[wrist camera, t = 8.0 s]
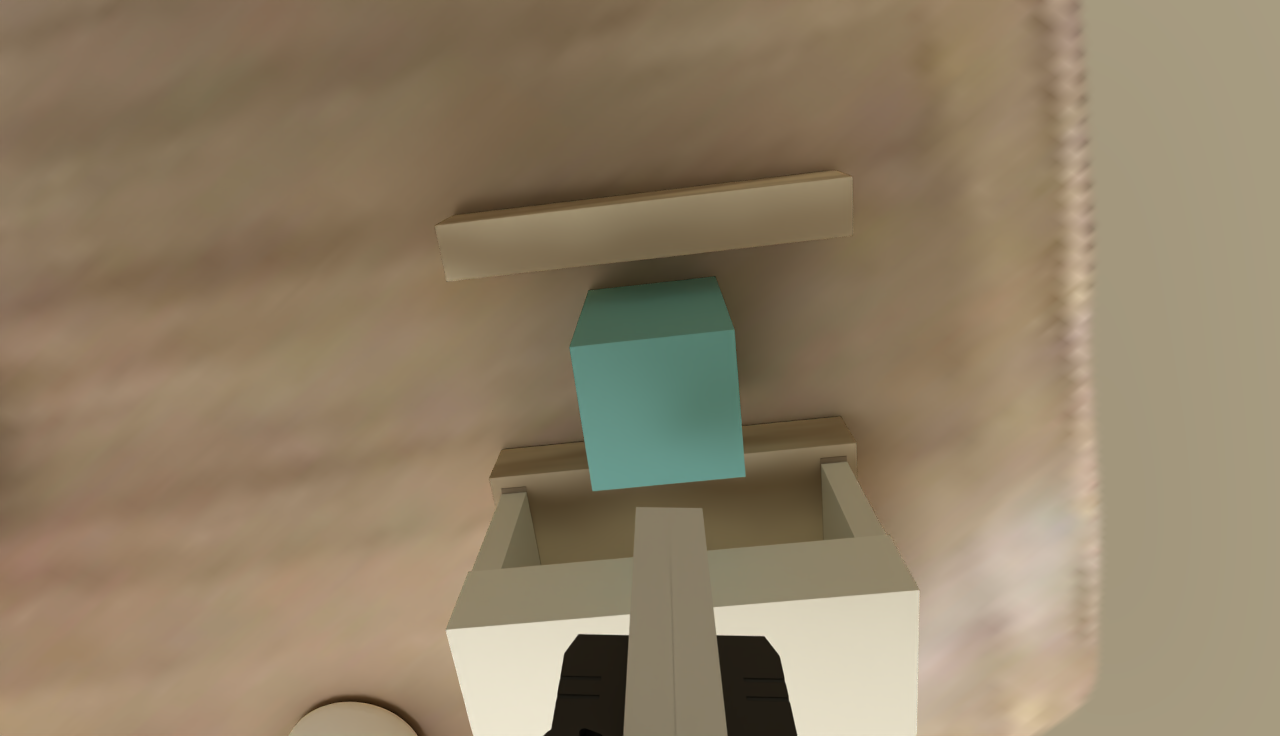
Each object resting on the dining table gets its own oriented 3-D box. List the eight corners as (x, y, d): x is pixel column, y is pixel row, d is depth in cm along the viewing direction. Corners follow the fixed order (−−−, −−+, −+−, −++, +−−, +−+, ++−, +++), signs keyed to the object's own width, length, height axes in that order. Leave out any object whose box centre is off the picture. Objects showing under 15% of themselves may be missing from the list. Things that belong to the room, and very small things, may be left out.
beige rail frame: (453, 215, 27) (416, 235, 23) (835, 170, 26) (868, 182, 22) (553, 702, 36) (539, 783, 31) (846, 679, 35) (873, 759, 30)
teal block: (588, 290, 28) (569, 347, 22) (715, 276, 28) (734, 329, 21) (605, 406, 30) (592, 491, 23) (724, 394, 30) (745, 476, 23)
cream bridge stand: (499, 494, 29) (445, 629, 21) (849, 461, 28) (919, 589, 20) (540, 690, 32) (507, 864, 25) (853, 665, 31) (914, 838, 24)
